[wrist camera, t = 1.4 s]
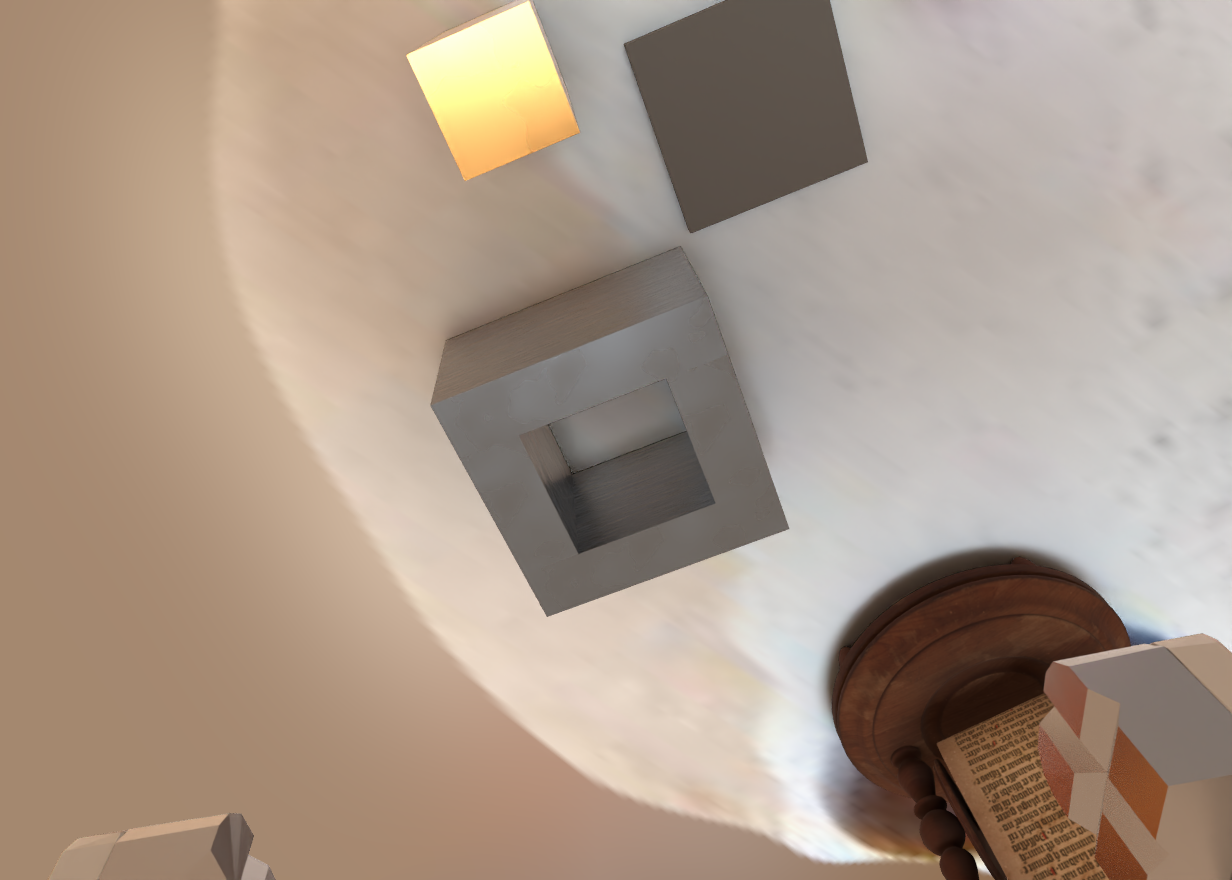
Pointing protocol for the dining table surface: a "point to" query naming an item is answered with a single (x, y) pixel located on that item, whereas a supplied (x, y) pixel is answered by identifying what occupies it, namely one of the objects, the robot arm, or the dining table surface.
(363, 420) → the dining table surface
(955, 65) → the dining table surface
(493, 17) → the orange tipped grey block
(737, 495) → the square frame
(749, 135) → the mat
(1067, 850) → the scroll
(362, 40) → the dining table surface
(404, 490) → the dining table surface
